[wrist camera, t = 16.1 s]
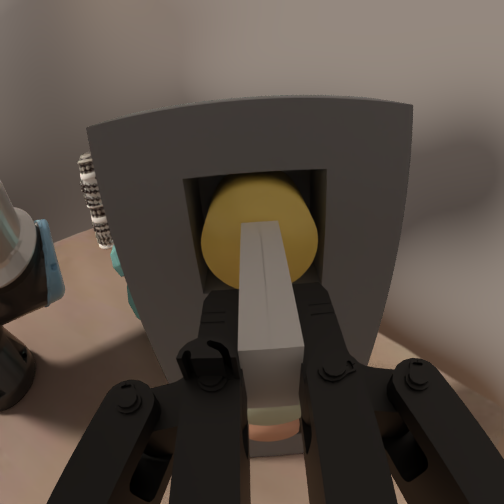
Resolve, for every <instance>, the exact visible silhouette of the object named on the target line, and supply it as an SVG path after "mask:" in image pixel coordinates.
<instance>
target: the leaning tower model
mask: <svg viewBox="0 0 504 504" xmlns="http://www.w3.org/2000/svg"><path fill="white" fill-rule="evenodd" d="M77 163H78V164H79V169H80V176H81V182H80V185H81V186H82V188H81V189H82V192H84V193H85V195H84V198H85V199H86V201H85V202H86V205H87V207H88V208H90V212H91V217H92V221H93V222H92V226H94V231H96V233H95V235H96V238H97V242H98V243H99V247H100V248H102V249H111V248H113V246H114V243H112V242H111V241H112V240H113V239H112V236H111V233H110V229H109V226H108V222H107V219H106V215H105V211H104V208H103V204H102V200H101V196H100V192H99V188H98V184H97V179H96V175H95V171H94V166H93V161H92V156H91V151H90V152H87V153H85V154H82V155H81V156H80V159H79V162H77ZM84 188H85V189H84Z"/></svg>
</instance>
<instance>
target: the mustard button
mask: <svg viewBox="0 0 504 504" xmlns="http://www.w3.org/2000/svg"><path fill="white" fill-rule="evenodd" d="M263 221H278V223H279V227H280V232H281V236H282V241H283V245H284V250H285V254H286V259H287V264H288V268H289V273H290V278H291V282H292V283H293V282H294V281H296V280H297V279H298V278H300V277H301V276H302V275H303V274H304V273H305V272H306V271H307V269H308V268H309V267H310V265H311V263H312V262H313V260H314V257H315V255H316V251H317V246H318V234H317V228H316V225H315V223H314V220H313V218H312V216H311V214H310V212H309V210H308V208H307V206H306V204H305V202H304V200H303V198H302V196H301V194H300V192H299V190H298V188H297V186H296V184H295V183H294V182H293V180H292V179H291V178H290V177H289V176H287V175H286V174H285V173H283V172H282V171H267V172H252V173H238V174H228V175H226V176H225V177H224V178H223V179H222V180H221V181H220V183H219V184H218V185H217V187H216V189H215V190H214V193H213V196H212V199H211V202H210V206H209V209H208V213H207V216H206V220H205V224H204V227H203V231H202V236H201V248H202V253H203V257H204V259H205V262H206V264H207V265H208V267H209V269H210V270H211V271H212V272H213V274H214V275H215V276H216V277H217V278H219V279H220V280H221V281H223V282H224V283H226V284H227V285H229V286H231V287H234V288H236V289H239V274H240V239H241V223H248V222H263Z"/></svg>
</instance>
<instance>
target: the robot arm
mask: <svg viewBox="0 0 504 504" xmlns="http://www.w3.org/2000/svg"><path fill="white" fill-rule="evenodd" d="M64 293H65V286H64V282H63V278H62V275H61V271H60V268H59V264H58V260H57V257H56V253H55V249H54V245H53V241H52V237H51V233H50V229H49V225H48V222H47V221H46V220H44V219H42V220H36V221H35V222H33V220H32V218H31V217H30V215H29V214H28V213H26V212H25V211H23V210H21V209H19V208H14V207H13V206H12V204H11V201H10V200H9V197H8V195H7V193H6V191H5V189H4V187H3V184H2V182H1V180H0V411H1V410H5V409H7V408H10V407H11V406H13V405H14V404H16V403H17V402H18V401H19V400H20V399H21V398H22V397H23V396H24V395H25V394H26V392H27V391H28V389H29V387H30V386H31V383H32V381H33V378H34V375H35V360H34V357H33V355H32V354H31V352H30V351H29V349H28V348H27V347H26V345H25V344H24V343H22V342H21V341H20V340H19V339H17V338H16V337H15V336H14V335H12V334H11V333H10V332H9V331H8V330H6V329H5V328H4V327H3V326H2V325H4V324H6V323H9V322H11V321H13V320H15V319H17V318H20V317H22V316H24V315H26V314H29V313H31V312H33V311H35V310H38V309H40V308H42V307H48V306H49V305H50V304H51V303H53V302H55V301H57V300H59V299H61V298H62V297H63V296H64ZM176 360H177V363H178V365H179V368H180V370H181V373H182V375H183V378H181V379H180V380H178V381H176V382H173V383H170V384H167V385H163V386H159V387H155V388H150V387H149V386H148V385H147V384H145V383H143V382H141V381H137V380H128V381H123V382H120V383H119V384H117V385H115V386H113V387H112V389H111V390H110V391H109V392H108V393H107V395H106V396H105V398H104V400H103V401H102V403H101V405H100V407H99V408H98V410H97V412H96V413H95V415H94V417H93V419H92V420H91V422H90V424H89V426H88V427H87V429H86V431H85V433H84V434H83V436H82V438H81V440H80V441H79V443H78V445H77V447H76V449H75V450H74V452H73V454H72V456H71V458H70V460H69V461H68V463H67V465H66V467H65V469H64V471H63V473H62V474H61V476H60V478H59V480H58V482H57V484H56V486H55V488H54V490H53V492H52V494H51V496H50V498H49V500H48V502H47V504H160V503H161V500H162V498H163V495H164V493H165V490H166V488H167V485H168V483H169V480H170V478H171V475H172V478H171V487H170V498H169V504H251V499H250V455H249V424H248V416H247V408H248V409H253V408H270V407H283V406H294V405H299V401H300V408H301V418H300V426H299V433H302V441H303V450H304V458H305V467H306V475H307V484H308V494H309V503H310V504H398V503H397V499H396V494H395V490H394V485H393V481H392V477H391V475H392V476H393V478H394V480H395V482H396V484H397V485H398V487H399V489H400V491H401V493H402V494H403V496H404V498H405V500H406V502H407V503H408V504H504V459H503V458H502V456H501V455H500V453H499V452H498V450H497V449H496V447H495V446H494V444H493V443H492V441H491V440H490V439H489V437H488V436H487V434H486V433H485V431H484V430H483V429H482V427H481V426H480V424H479V423H478V422H477V420H476V419H475V418H474V416H473V415H472V414H471V412H470V411H469V410H468V408H467V407H466V406H465V404H464V403H463V402H462V400H461V399H460V398H459V396H458V395H457V394H456V392H455V391H454V390H453V389H452V387H451V386H450V385H449V383H448V382H447V381H446V380H445V378H444V377H443V376H442V375H441V373H440V372H439V371H438V370H437V368H436V367H434V366H433V365H432V364H431V363H430V362H428V361H425V360H423V359H418V358H410V359H407V360H403V361H402V362H401V363H399V364H398V365H397V366H396V368H395V370H392V369H382V368H373V367H369V366H365V365H363V364H361V363H359V362H358V361H357V360H356V359H355V358H354V357H353V356H351V355H350V354H349V352H348V350H347V347H346V344H345V341H344V338H343V335H342V332H341V329H340V326H339V323H338V320H337V317H336V314H335V311H334V308H333V305H332V302H331V299H330V296H329V293H328V291H327V290H326V289H325V288H324V287H323V286H322V285H321V284H320V283H319V282H313V283H300V284H292V282H291V278H290V273H289V268H288V264H287V259H286V254H285V250H284V245H283V241H282V236H281V232H280V227H279V223H278V221H263V222H248V223H241V239H240V274H239V289H229V290H212V291H211V292H210V293H209V294H208V296H207V297H206V298H205V300H204V301H203V307H202V315H201V320H200V326H199V332H198V338H196V339H194V340H192V341H190V342H188V343H186V344H185V345H184V346H183V347H182V348H181V349H180V350H179V352H178V355H177V357H176Z"/></svg>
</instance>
